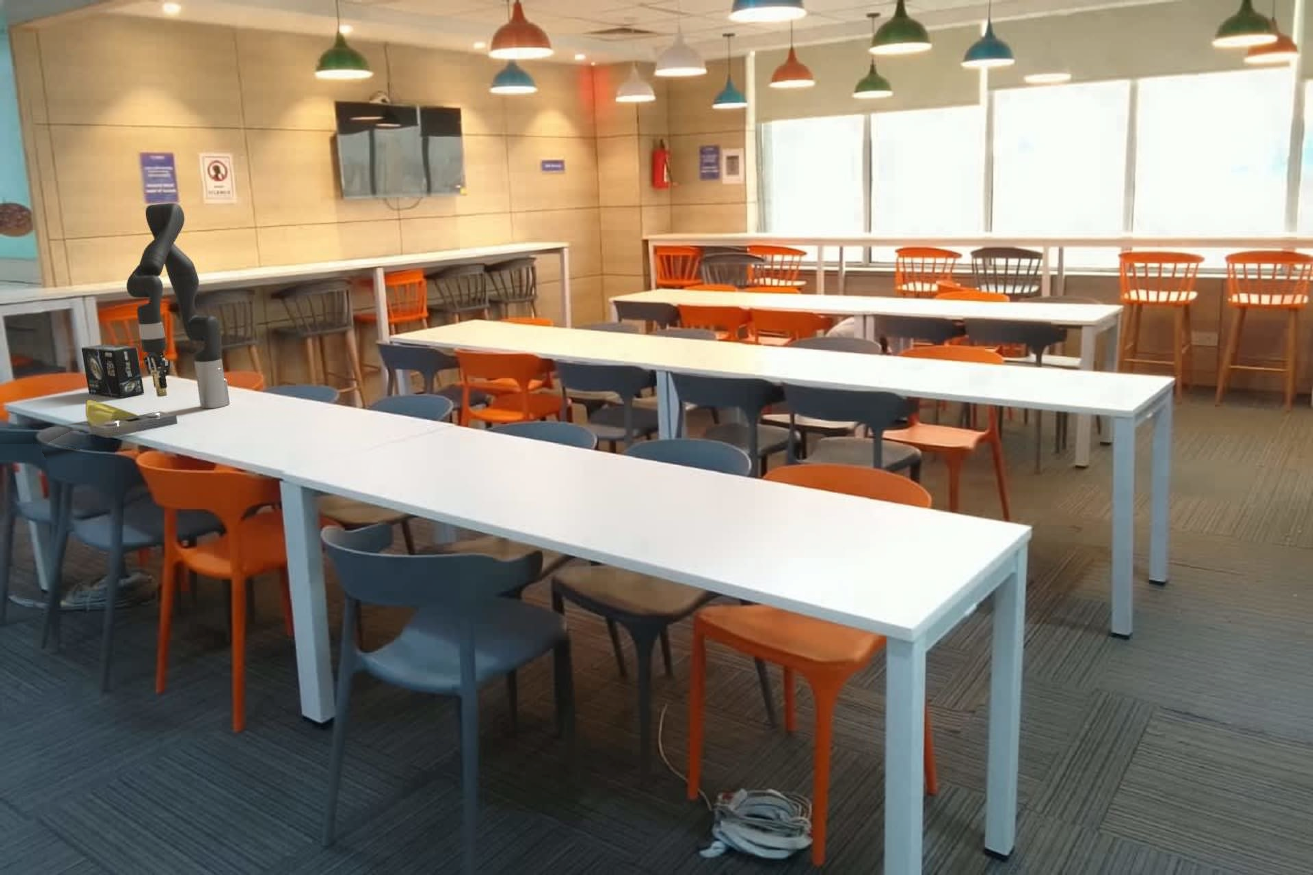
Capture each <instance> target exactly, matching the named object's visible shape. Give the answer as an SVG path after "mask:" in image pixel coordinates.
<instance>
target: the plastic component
mask: <svg viewBox="0 0 1313 875" xmlns="http://www.w3.org/2000/svg"><path fill="white" fill-rule="evenodd" d="M133 416H138V414H136V413H133V412H129V411H126V410H124V409H121V408H118V407H115V406H112V405H108V404H105V403H101V402H100V401H99V402H98V401H94V400H91V399H88V400H86V403H85V417H86V419H87V421H88V422H89V424H90V425H91V424H97V423H102V422H106V421H111V420H118V419H123V418H128V417H133Z"/></svg>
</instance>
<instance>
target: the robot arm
mask: <svg viewBox="0 0 1313 875" xmlns="http://www.w3.org/2000/svg"><path fill="white" fill-rule="evenodd" d="M145 218H146V223H147V226H148V228H149V230H150V232H151V234H152V236H153V240H152V241H150V243H149V244H147V246H146V247H145V249H144V250H143V253H142V255H141V258H140V262H139V264H138V266H136V268H134V270H133V271H132V273H131V274H130V275H129V277H128V279H127V282H126V291H127V292H128V295H129V296H131V297H132V298H149V301H148V302H147V303H145V304H141V305H138V306H137V308H136V314H137V320H138V321H137V322H138V331H139V332H138V333H139V337H140V339H139V340H140V346H141V350H142V352H144V353H146V356H144V357H142V360H143V363H144V365H145V368H146V371H147V374H148V375H150V376H151V377H152V382H153V387H154V388H156V386H155V380H154V373H152V369H155V371H157V375H158V380H159V387H160V388H161V389H164V388H166V389H167V387H168V385H167V384H168V383H167V379H166V377H167V376H170V368H171V360H170V359H169V358H167V359H166V356H165V353H164V352H165V351H166V350H167V349H168V346H167V338H166V333H165V328H164V324H163V318H162V310H161V309H162V308H161V307H162V296H163V290H164V285H163V282H162V280H161V278H160V276H161V274H162V273H163V270H164V266H165V269H166V274H167V276H168V279H169V282H170V284H171V286H172V290H173V293H174V295H175V298H176V301H177V306H178V309H179V312H180V316H181V317H180V318H181V321H182V326H183V328H184V332H185V334H186V336H187V338H188V340H190V341H192V342H200V343H201V342H204V347H203V348H202V349H200V350H199V351H196V352H194V354H193V360H194V368H195V374H196V376H195V377H196V382H197V391H198V397H199V398H198V399H199V405H200V408H201V409H214V408H215V409H217V408H222V407H225V406H228V405H230V404H231V402H230V396H229V388H228V380H227V378H225V376H224V368H223V360H222V352H223V351H222V350H223V345H222V331H221V330H222V329H221V324H220V322H219V319H217V317H215V316H213V315H198V313H197V310H196V306H195V299H196V295H197V293H198V290H199V284H200V280H199V276H198V273H197V270H196V267H195V264H194V262H193V261H192V260H191V259H190V257H189V256H188V255H187V254H186V253H185V252H183V251H182V250H181V248H179V247H178V246H177V245H176V244H175V242H176V240H177V239H178V237H179V235H180V233H181V231H182V230H183V227H184V225H185V212H184V210H183V208H182V207H181V205H180V204H178V203H173V202H172V203H171V202H170V203H169V202H168V203H158V204H157V203H156V204H150V205H148V206H146V209H145Z"/></svg>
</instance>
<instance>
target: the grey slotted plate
mask: <svg viewBox="0 0 1313 875" xmlns="http://www.w3.org/2000/svg"><path fill="white" fill-rule="evenodd" d="M176 424H178V418H177V414H173V413H169V412H163V411H160V410H159V411H156V412H148V413H144V414H139V415H138V414H137V416H133V417H128V418H123V419H118V420H111V421H106V422H102V423H97V424H91V423H90V424H89V431H90V434H91V435H94V436H99V437H102V438H106V439H108V438H113V437H118V436H122V435H123V436H124V435H128V434H132V433H136V432H137V431H138V432H142V431H146V430H147V429H148V430H151V429H152V430H153V429H156V428H162V427H167V426H172V425H176ZM148 430H147V431H148Z"/></svg>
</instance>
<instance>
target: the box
mask: <svg viewBox="0 0 1313 875" xmlns="http://www.w3.org/2000/svg"><path fill="white" fill-rule="evenodd" d="M80 349H81V353H82V361H83V367H84V372H85V373H84V374H85V379H86V384H87V390H88V393H89V395H93V394H94V396H101V397H102V396H103V397H110V398H118V399H123V398H124V399H125V398H129V397H134V396H139V395H143V394H145V389H144V384H143V377H142V372H141V363H140V357H139V353H138V347H136V346H128V345H127V346H126V345H125V346H124V345H114V344H113V345H112V344H98V345H97V344H96V345H91V346H85V347H81V348H80Z"/></svg>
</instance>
